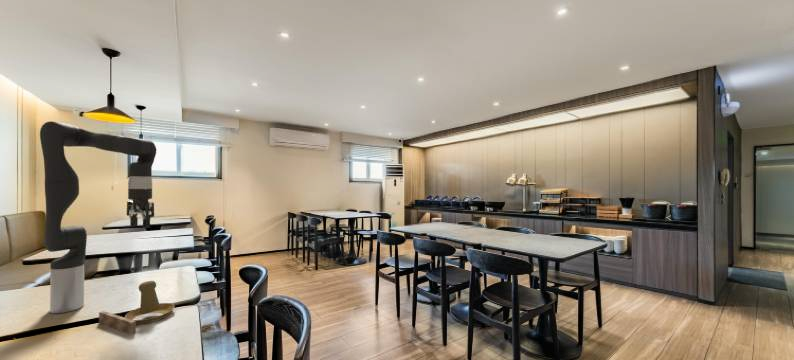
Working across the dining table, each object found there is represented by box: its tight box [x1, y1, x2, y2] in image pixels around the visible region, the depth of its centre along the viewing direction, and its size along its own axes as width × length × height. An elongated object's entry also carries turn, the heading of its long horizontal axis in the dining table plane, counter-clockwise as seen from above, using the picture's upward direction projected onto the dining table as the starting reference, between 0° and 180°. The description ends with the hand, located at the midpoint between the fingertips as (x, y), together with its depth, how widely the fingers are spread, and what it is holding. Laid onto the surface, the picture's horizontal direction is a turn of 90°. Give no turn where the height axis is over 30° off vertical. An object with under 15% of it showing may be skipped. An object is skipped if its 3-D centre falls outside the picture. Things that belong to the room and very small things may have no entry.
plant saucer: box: [124, 302, 175, 325], centre depth 115 cm, size 15×15×3 cm
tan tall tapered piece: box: [138, 280, 160, 315], centre depth 115 cm, size 6×6×11 cm
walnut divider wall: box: [98, 310, 137, 335], centre depth 106 cm, size 20×1×4 cm, turn 68°
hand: (140, 227), depth 123 cm, fingers open, 8 cm apart
